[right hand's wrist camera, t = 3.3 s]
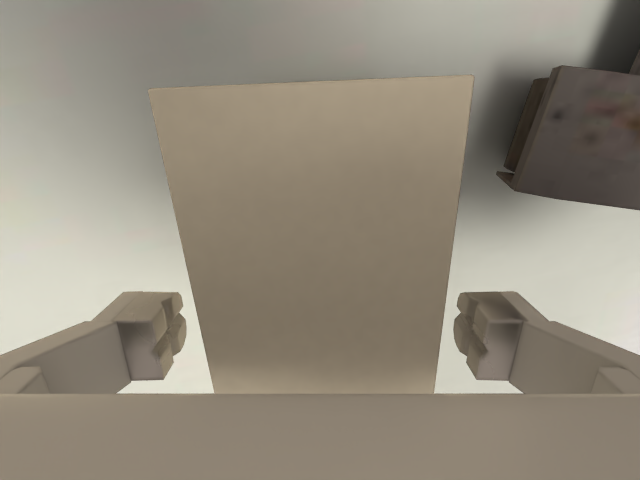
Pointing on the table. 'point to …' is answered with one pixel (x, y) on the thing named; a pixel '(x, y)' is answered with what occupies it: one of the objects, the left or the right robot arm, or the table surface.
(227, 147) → the box
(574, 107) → the toy
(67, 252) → the table surface
